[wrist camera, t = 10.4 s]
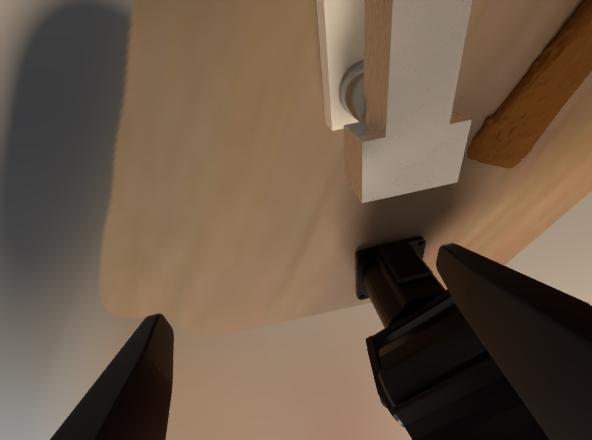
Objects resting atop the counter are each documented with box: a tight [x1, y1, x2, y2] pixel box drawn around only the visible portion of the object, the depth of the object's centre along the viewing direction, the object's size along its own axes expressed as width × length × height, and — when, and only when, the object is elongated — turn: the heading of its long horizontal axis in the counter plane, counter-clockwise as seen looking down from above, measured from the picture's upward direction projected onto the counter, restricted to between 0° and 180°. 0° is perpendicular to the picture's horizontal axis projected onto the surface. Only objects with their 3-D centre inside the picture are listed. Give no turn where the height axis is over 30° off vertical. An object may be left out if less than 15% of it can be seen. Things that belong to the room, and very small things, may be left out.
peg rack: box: [316, 0, 365, 131], centre depth 13 cm, size 12×4×5 cm, turn 8°
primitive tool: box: [468, 0, 592, 168], centre depth 17 cm, size 19×6×4 cm, turn 165°
